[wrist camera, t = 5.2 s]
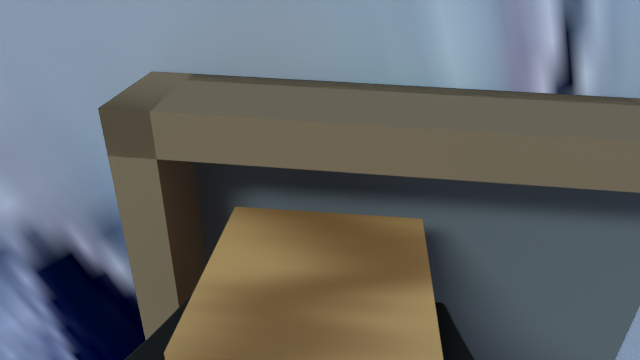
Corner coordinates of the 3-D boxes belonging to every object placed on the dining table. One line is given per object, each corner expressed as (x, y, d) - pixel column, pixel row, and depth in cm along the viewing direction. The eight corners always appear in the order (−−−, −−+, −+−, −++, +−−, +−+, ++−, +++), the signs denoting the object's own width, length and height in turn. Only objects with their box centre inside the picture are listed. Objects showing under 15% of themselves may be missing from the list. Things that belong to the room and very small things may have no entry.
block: (422, 218, 13) (446, 379, 8) (404, 352, 15) (415, 531, 11) (235, 206, 13) (163, 353, 9) (247, 339, 15) (195, 505, 11)
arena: (713, 102, 12) (804, 152, 10) (560, 453, 20) (588, 536, 17) (151, 71, 14) (98, 108, 11) (200, 414, 21) (175, 486, 18)
